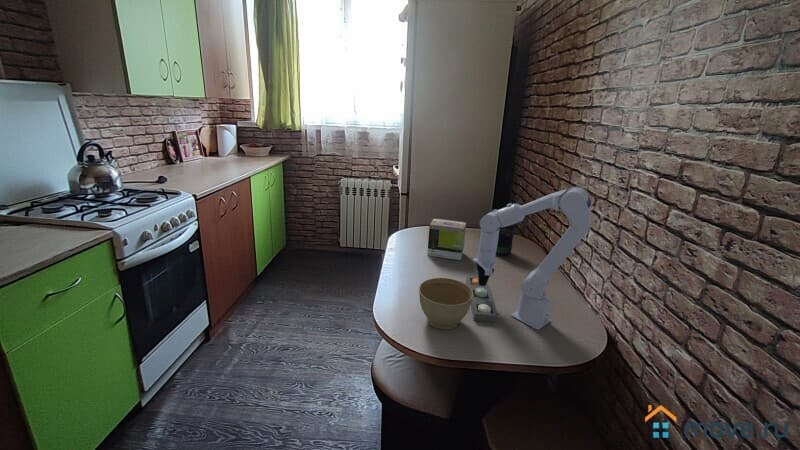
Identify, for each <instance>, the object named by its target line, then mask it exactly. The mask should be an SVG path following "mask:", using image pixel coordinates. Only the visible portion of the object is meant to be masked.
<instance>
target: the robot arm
mask: <svg viewBox="0 0 800 450" xmlns="http://www.w3.org/2000/svg"><path fill="white" fill-rule="evenodd" d="M566 191H567V192H566ZM592 203H593V201H592V198H591V196H590V194H589V191H588V190H587V189H585V188H584V187H582V186H574V187H571V188H569V189H563V190H558V191H555V192H553V193H550V194H547V195H545V196H542V197H539V198H537V199H535V200H531V201H529V202H527V203H525V204H523V205H520V204H518V203H512V202H510V203H508V204H506V206H504V207H502V208H500V209H493V210H492V211H490V212H489V213H487V214H485V215H484V216H483V217H481V219H480V220H479V227H480V229H481V230H480V236H479V243H478V251H477V256H476V257H475V258H473V259H472V261H473V263H475V266H476V270H477V277H478V281H479V286H486V284H488V282H489V279H490V277H491V276H493V275H492V274H493V273H494V272H495V268H494V267H495V265H496V250H497V243H498V237H499V228H500V227H506V226H509V225H512V224H515V223H516V224H518V223H520V222H523V221H524V219H525V216H528V215H530V214H534V213H538V212H541V211H544V210H547V209H552V210H554V211H560V210H561V211H562V212H563V214H564V215H565V217H567V220H568V223H569V227H568V228H567V230H566V231H565V232H564V234H563V235H562V236H561V237H560V238H559V240H558V241H557V243H556V244H555V245H554V246H553V247H552V249H551V250H550V251H549V253H548V254H547V255H546V257H545V258H544V259H543V261H541V263H540V264H539V266H538V267H536V268H535V269H533V270H531V271H530V272H529V274H528V276H526V278H525V279H524V280H523V282H522V283H521V286H520V287H521V288H520V289H521V292H520V296H519V302H518V307H517V310H516V311H515V312H513V313H512V314H511V317H513V318H514V319H517V320H518V321H521V323H524V324H526V325H528V326H529V327H532V328H533V329H535V330H541V328H543V327H544V326H546V325H547V324H549V323H550V322H551V316H552V310H553V307H554V302H553V301H552V300H550V299H549V298H548V297H547V293H546V287H547V286H548V285H549V282H550V279H551V278H552V276H553V275H554V274H555V272H556V271H558V269H559V268H560V266H561V265H562V264H563V263H564V262H565V261H566V259H567V258H568V256H569V255H570V254H571V253H572V251H573V250H575V248H576V246H577V245H578V244H579V243H580V241H581V240H582V239H583V238H584V237H585V235H586V234H587V233H588V232H589V231H590V228H591V225H592V207H593V205H592Z"/></svg>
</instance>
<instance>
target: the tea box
mask: <svg viewBox="0 0 800 450" xmlns="http://www.w3.org/2000/svg"><path fill="white" fill-rule="evenodd" d="M428 227H429V229H428V239H427V241H428V242H427V252H426V253H427V254H426V255H427V256H430V257H437V258H444V259H451V260H456V261H461V260H462V257H463V253H464V247H465V238H466V230H467V229H466V228H467V222H465V221H459V220H458V221H457V220H449V219H442V218H433V219H432V220H431V222H430V223H429V226H428Z"/></svg>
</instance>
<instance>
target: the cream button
mask: <svg viewBox="0 0 800 450" xmlns="http://www.w3.org/2000/svg"><path fill="white" fill-rule="evenodd" d="M478 312H481V313H491V307H490V306H488V305H486V304H480V305H479V306H478Z"/></svg>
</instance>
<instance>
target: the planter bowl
mask: <svg viewBox="0 0 800 450" xmlns="http://www.w3.org/2000/svg"><path fill="white" fill-rule="evenodd" d="M418 293H419V304H420V307H421V310H422V312H423V313H424V315H425V318H427V322H428V323H429V324H430V325H431V326H432V327H434V328H437V329H440V330H451V329H454V328H456V327H457V326H458V325H459V323H460V322H461V321H462V320H463V319H464V318H465V316H466V315H467V314H468V312H469V310H470V309H471V300H472V298H473V292H472V290H471V288H470V287H469V286H468V285H466V282H465V283H464V282H462V281H460V280H458V279H454V278H448V277H432V278H429V279H425V280H424V281H423V282H421V284H420V285H419V288H418Z"/></svg>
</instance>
